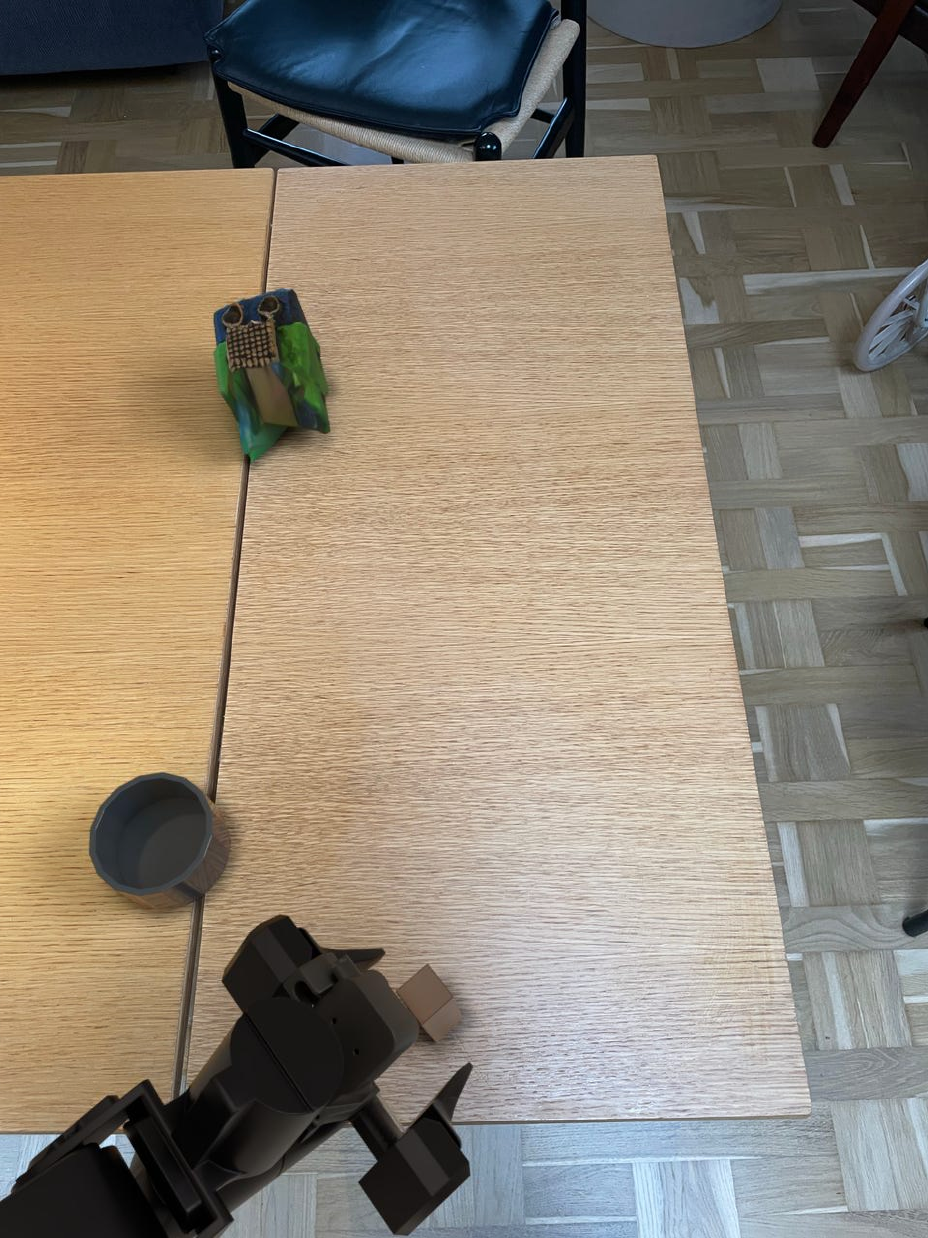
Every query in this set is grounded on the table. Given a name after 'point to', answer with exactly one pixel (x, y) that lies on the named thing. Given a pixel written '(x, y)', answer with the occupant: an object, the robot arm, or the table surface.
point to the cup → (159, 841)
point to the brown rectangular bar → (430, 1003)
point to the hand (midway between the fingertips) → (423, 1009)
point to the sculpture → (269, 369)
